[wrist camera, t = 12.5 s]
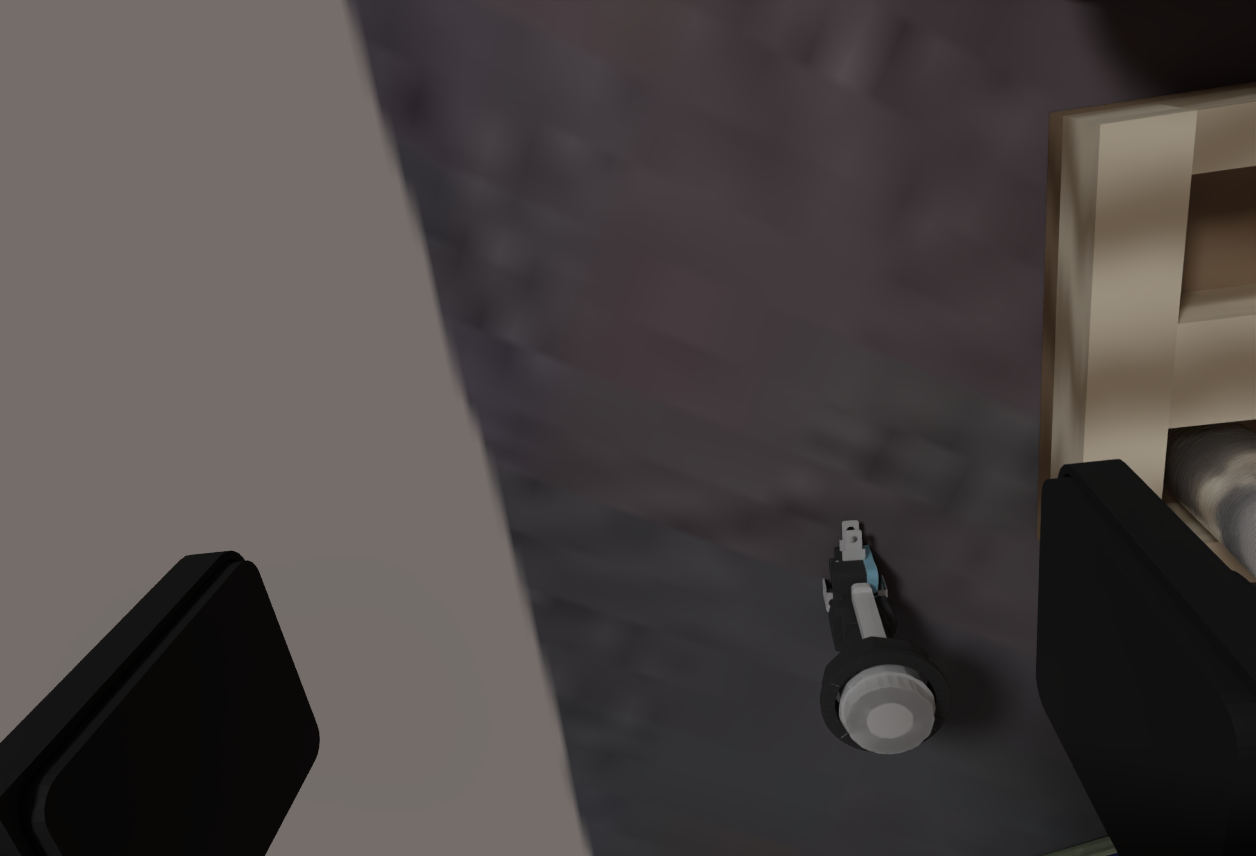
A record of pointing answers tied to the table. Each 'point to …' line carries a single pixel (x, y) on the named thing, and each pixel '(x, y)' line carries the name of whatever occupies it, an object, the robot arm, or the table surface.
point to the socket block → (1149, 281)
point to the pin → (1217, 482)
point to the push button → (875, 662)
